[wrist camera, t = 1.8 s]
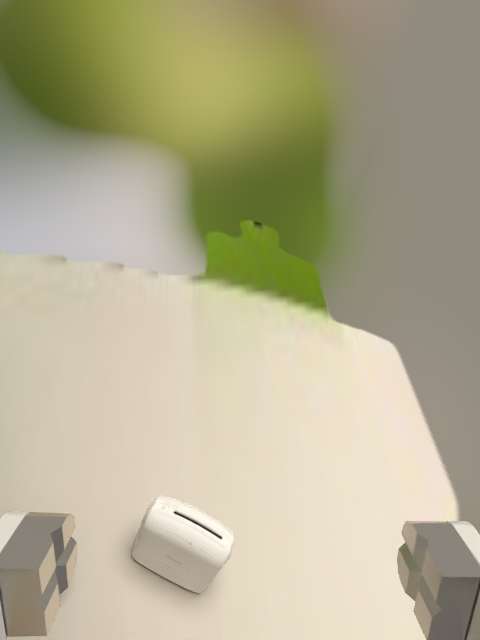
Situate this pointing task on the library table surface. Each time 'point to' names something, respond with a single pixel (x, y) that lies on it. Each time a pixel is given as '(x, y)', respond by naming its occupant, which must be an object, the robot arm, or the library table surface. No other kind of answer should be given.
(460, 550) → the robot arm
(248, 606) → the library table surface
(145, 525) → the photo printer
